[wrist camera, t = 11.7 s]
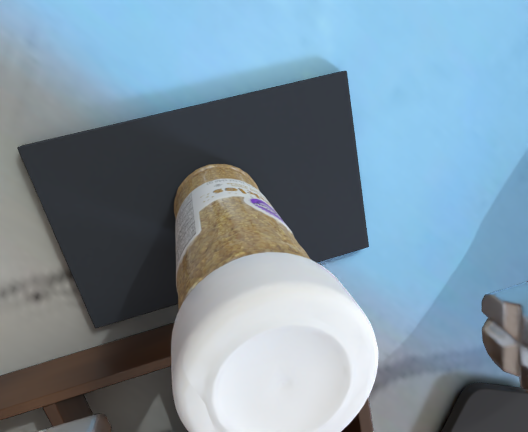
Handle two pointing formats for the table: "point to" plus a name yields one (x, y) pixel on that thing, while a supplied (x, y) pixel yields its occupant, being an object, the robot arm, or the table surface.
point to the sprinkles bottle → (259, 319)
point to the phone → (489, 409)
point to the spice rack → (99, 378)
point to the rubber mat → (183, 164)
